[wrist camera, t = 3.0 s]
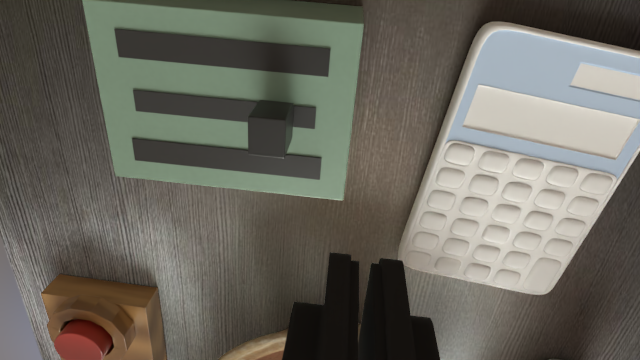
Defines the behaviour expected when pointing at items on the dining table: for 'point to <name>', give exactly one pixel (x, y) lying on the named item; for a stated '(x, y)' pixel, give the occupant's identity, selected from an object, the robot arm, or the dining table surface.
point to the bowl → (261, 348)
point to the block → (109, 314)
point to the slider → (270, 128)
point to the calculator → (524, 158)
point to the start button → (83, 341)
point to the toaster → (227, 89)
